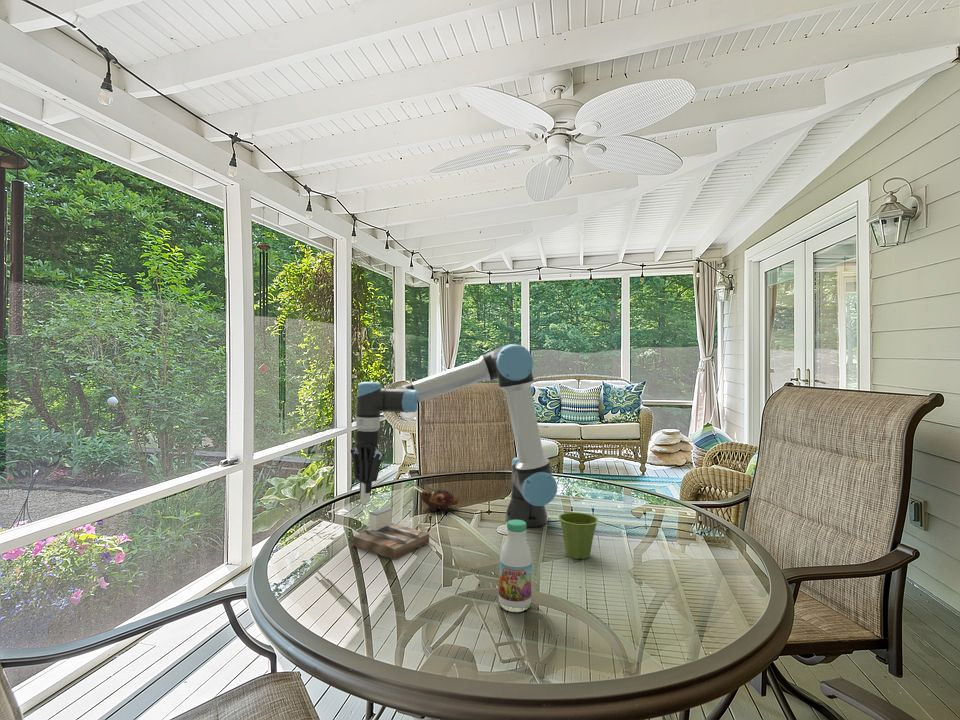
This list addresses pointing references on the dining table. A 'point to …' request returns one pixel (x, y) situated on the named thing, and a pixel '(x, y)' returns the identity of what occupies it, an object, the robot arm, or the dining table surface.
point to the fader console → (391, 541)
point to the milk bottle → (515, 567)
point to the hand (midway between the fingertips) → (365, 502)
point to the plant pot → (578, 533)
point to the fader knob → (380, 519)
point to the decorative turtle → (438, 499)
